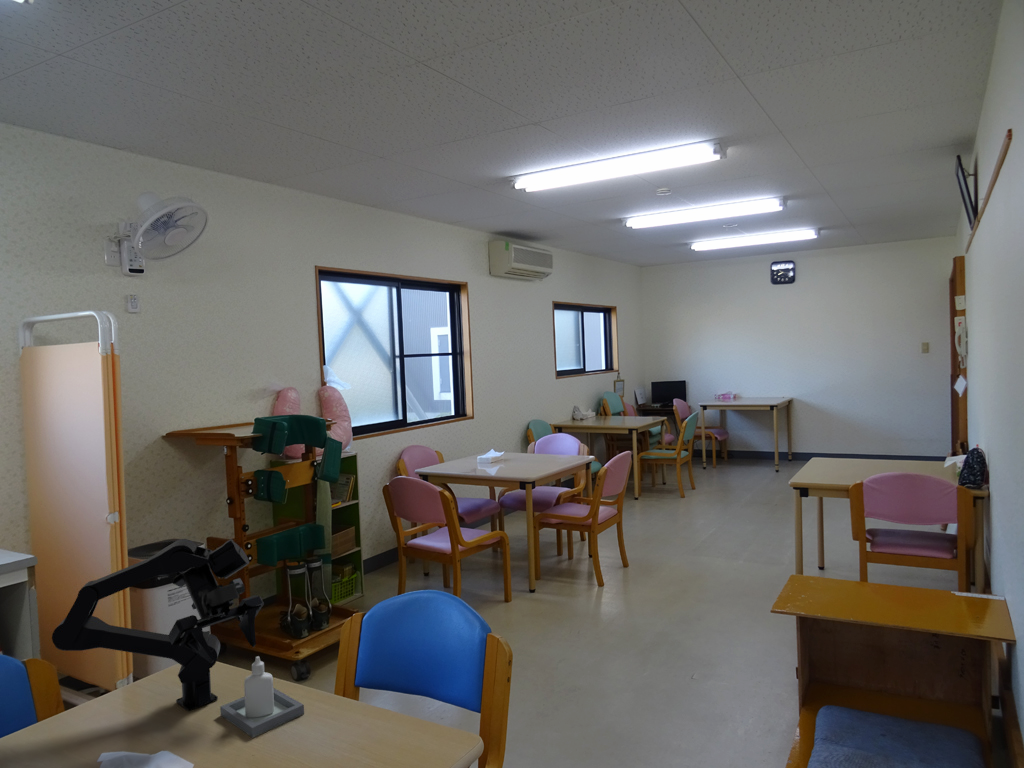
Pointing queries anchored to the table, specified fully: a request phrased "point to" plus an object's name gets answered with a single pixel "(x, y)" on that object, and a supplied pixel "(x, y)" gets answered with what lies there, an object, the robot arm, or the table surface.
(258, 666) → the eye dropper bottle
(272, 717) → the gray rectangular tray
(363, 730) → the table surface
